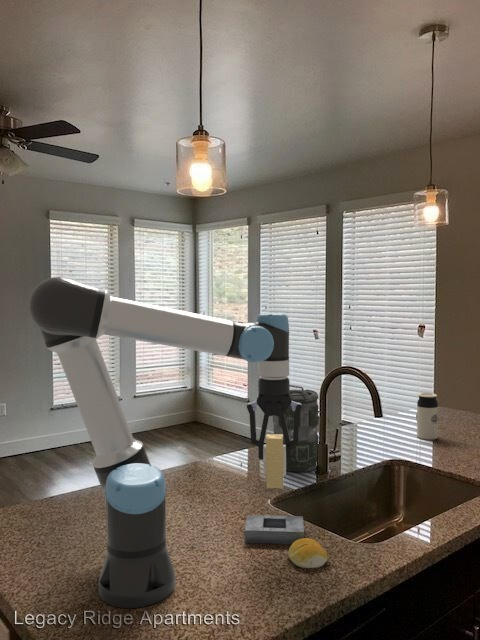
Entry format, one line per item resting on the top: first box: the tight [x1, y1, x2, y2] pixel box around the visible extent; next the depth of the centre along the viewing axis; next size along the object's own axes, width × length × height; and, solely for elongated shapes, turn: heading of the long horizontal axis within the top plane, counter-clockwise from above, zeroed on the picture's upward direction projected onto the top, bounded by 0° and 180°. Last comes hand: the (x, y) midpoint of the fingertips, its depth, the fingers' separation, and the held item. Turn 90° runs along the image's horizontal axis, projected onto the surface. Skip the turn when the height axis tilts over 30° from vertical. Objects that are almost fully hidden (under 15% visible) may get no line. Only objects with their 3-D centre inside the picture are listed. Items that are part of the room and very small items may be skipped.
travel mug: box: [416, 392, 439, 441], centre depth 219 cm, size 8×8×18 cm
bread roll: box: [287, 537, 329, 569], centre depth 118 cm, size 8×9×4 cm
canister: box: [272, 384, 320, 473], centre depth 183 cm, size 16×16×28 cm
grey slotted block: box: [244, 514, 305, 545], centre depth 130 cm, size 9×14×3 cm, turn 85°
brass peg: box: [265, 433, 284, 489], centre depth 129 cm, size 4×4×12 cm
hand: (274, 472), depth 129 cm, fingers closed on brass peg, 4 cm apart
